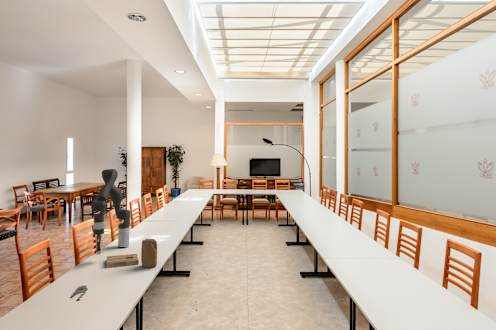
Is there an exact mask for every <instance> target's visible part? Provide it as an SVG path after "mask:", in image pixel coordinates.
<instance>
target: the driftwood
mask: <svg viewBox="0 0 496 330" xmlns="http://www.w3.org/2000/svg"><path fill="white" fill-rule="evenodd" d="M87 291H88V286H87V285H83V284H82V285H80V286H78V287H77V288H76V289H75V291H74V292H73V293H72V294H71V296H70V297H69V299H70V301H71V300H72V299H73V298H74V297H76V296H77V295H80V296H78V297H77V299H76V300H80V298H81V299H82V297H83V296H84V295H85V294H86V292H87ZM81 293H83V294H81Z"/></svg>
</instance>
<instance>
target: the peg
mask: <svg viewBox="0 0 496 330" xmlns="http://www.w3.org/2000/svg"><path fill="white" fill-rule="evenodd" d="M102 241H103V240H102V239H101V243H100V245H101V246H100V251H97V243H96V242H95V251H96V255H101V254H102Z"/></svg>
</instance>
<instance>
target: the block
mask: <svg viewBox="0 0 496 330" xmlns="http://www.w3.org/2000/svg"><path fill="white" fill-rule="evenodd" d="M157 243H158V242H157V241H156V240H155V238H145V239H142V241H141V252H140V255H141V256H140V259H141V260H140V261H141V262H140V263H141V266H142V268H144V269H145V268H146V269H150V268H152V269H153V268H155V267H156V266H157V265H158V244H157Z"/></svg>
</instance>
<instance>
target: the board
mask: <svg viewBox="0 0 496 330" xmlns="http://www.w3.org/2000/svg"><path fill="white" fill-rule="evenodd" d="M138 264H140V261H139V256H138V253H128V254H120V255H119V254H117V255H107V256H106V267H105V268H106V269H107V268H118V267H117V266H119V267H126V266H127V267H128V266H136V265H137V266H139V265H138Z"/></svg>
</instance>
